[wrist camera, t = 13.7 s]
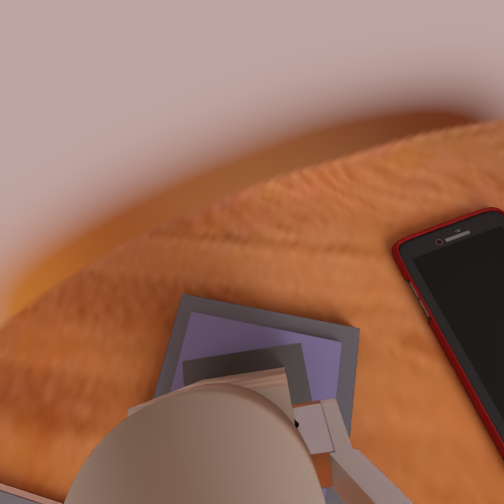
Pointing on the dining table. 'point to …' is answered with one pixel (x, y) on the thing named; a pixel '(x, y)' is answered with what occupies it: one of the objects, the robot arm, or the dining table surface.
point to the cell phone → (465, 302)
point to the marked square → (21, 497)
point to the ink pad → (264, 336)
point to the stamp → (211, 439)
